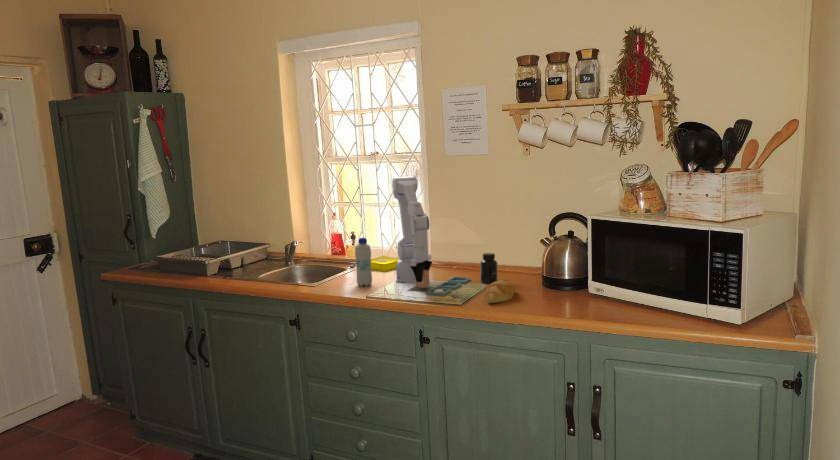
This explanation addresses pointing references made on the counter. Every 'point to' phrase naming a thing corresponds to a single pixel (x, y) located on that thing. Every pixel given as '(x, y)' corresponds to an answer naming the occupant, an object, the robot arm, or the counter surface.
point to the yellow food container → (384, 263)
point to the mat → (421, 289)
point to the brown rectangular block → (424, 280)
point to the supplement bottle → (488, 268)
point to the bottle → (363, 263)
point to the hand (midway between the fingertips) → (421, 280)
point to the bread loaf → (500, 291)
